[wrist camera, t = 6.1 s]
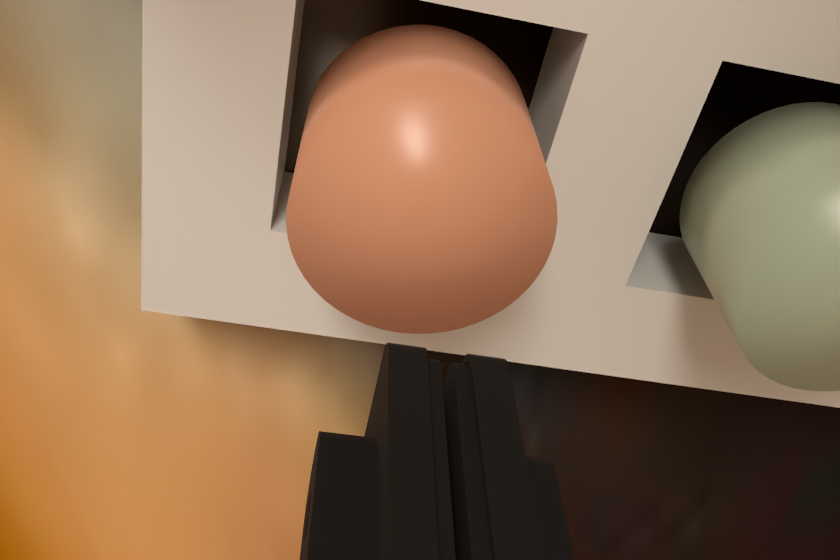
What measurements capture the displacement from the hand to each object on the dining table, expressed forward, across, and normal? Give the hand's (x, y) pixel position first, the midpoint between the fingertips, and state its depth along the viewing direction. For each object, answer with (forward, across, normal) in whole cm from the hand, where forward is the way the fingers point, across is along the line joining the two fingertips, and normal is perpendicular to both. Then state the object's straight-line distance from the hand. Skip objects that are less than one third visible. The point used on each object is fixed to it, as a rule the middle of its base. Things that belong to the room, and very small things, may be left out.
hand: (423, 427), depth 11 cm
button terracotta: (+9, 0, -1) cm, 9 cm away
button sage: (+9, -9, -1) cm, 12 cm away
